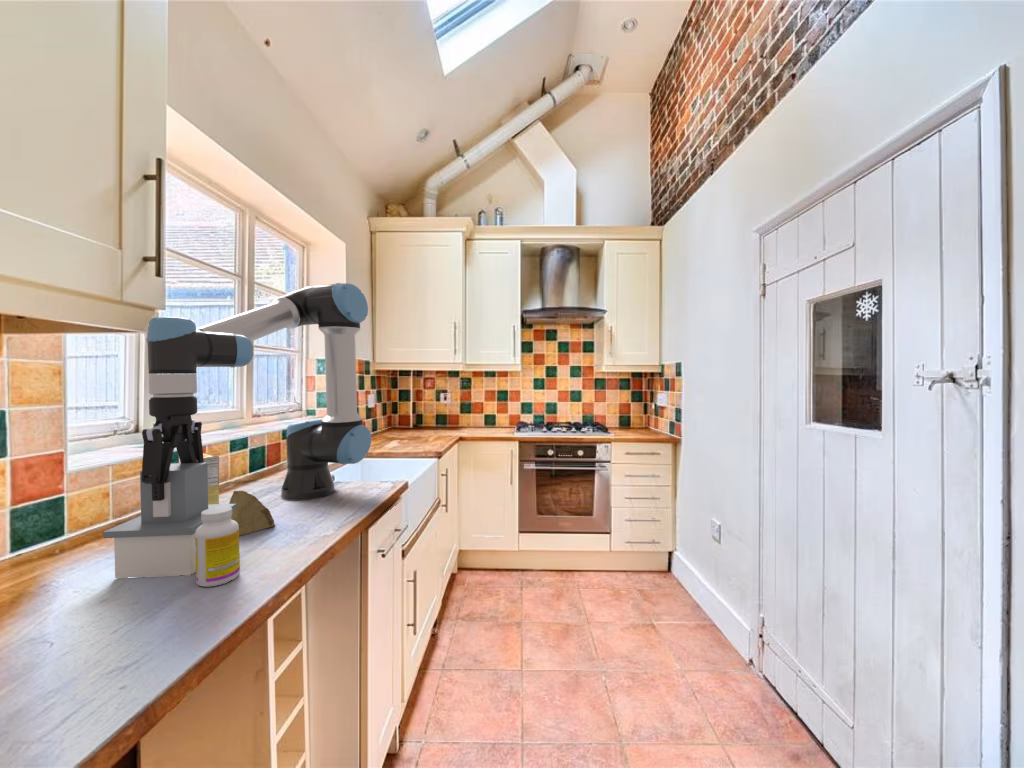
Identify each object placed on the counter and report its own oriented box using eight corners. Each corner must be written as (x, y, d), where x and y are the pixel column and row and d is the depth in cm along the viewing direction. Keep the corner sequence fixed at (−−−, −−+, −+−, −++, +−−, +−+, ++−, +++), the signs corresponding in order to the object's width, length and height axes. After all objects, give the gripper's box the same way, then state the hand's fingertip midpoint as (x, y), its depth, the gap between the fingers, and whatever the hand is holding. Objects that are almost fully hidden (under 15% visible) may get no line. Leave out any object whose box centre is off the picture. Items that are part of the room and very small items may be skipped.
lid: (162, 511, 91) (161, 460, 91) (236, 509, 93) (235, 458, 93) (103, 538, 76) (101, 476, 76) (192, 534, 78) (190, 474, 78)
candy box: (190, 508, 119) (188, 454, 119) (207, 504, 122) (206, 452, 122) (202, 514, 114) (201, 457, 114) (220, 510, 117) (219, 455, 117)
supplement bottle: (248, 573, 80) (247, 506, 79) (214, 590, 73) (213, 517, 73) (221, 569, 82) (220, 503, 81) (186, 585, 75) (185, 514, 75)
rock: (282, 511, 109) (240, 508, 107) (278, 490, 104) (234, 487, 102) (266, 550, 100) (220, 548, 99) (261, 529, 95) (212, 526, 93)
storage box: (165, 549, 91) (164, 512, 91) (229, 547, 92) (229, 510, 92) (115, 578, 78) (114, 536, 78) (190, 575, 79) (189, 532, 79)
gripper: (186, 393, 94) (188, 496, 94) (111, 398, 74) (114, 528, 74) (222, 393, 94) (224, 495, 95) (157, 398, 75) (160, 526, 75)
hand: (176, 509), depth 85 cm, fingers closed on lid, 7 cm apart
